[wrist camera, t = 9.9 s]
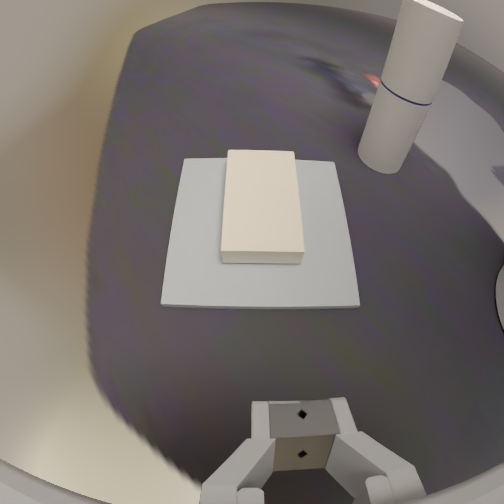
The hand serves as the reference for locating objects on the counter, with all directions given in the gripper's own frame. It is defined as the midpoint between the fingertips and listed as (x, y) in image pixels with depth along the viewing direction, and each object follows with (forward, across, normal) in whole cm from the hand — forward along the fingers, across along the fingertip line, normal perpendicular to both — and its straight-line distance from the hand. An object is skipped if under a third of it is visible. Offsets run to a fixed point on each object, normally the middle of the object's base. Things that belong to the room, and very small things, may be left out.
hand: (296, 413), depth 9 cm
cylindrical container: (+37, -17, -9) cm, 42 cm away
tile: (+22, 0, +2) cm, 22 cm away
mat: (+28, +1, 0) cm, 28 cm away
